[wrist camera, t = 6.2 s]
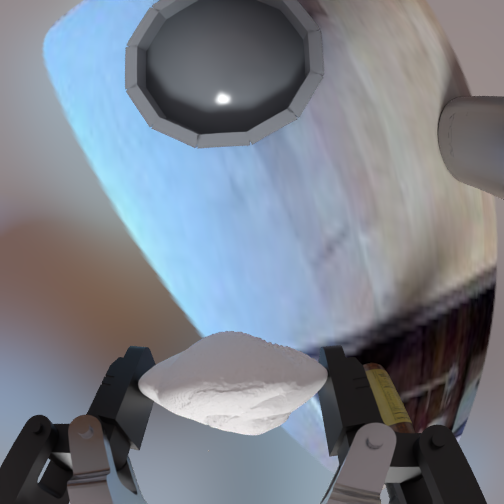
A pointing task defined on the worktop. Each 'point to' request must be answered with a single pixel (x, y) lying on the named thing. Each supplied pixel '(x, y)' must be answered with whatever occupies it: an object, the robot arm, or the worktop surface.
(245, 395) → the dumpling
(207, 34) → the round dish
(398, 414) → the sauce bottle
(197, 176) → the worktop surface
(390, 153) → the worktop surface
